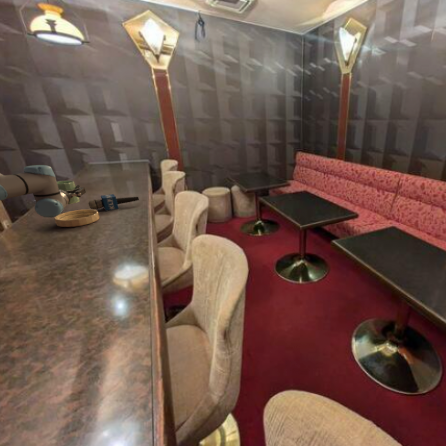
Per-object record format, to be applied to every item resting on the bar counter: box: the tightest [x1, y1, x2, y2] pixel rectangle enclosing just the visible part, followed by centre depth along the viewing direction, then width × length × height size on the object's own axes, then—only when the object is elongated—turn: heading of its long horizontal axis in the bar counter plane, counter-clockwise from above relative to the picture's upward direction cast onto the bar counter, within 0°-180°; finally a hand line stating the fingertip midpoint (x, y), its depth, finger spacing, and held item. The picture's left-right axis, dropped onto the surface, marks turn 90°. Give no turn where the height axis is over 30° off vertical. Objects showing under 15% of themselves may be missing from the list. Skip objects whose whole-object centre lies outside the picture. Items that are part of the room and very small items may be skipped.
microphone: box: [88, 193, 140, 212], centre depth 151 cm, size 8×8×25 cm
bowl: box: [53, 208, 101, 228], centre depth 129 cm, size 17×17×4 cm
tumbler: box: [57, 180, 81, 205], centre depth 120 cm, size 8×8×10 cm
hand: (67, 188), depth 123 cm, fingers closed on tumbler, 8 cm apart
